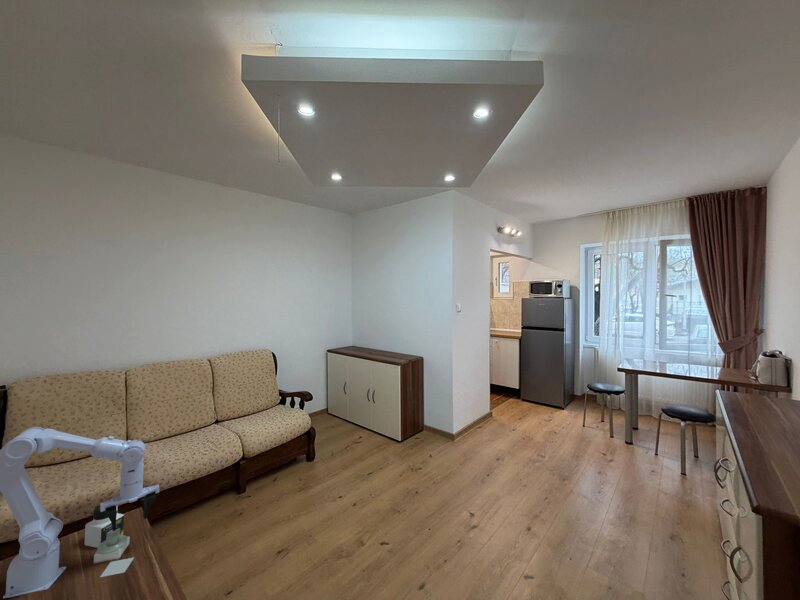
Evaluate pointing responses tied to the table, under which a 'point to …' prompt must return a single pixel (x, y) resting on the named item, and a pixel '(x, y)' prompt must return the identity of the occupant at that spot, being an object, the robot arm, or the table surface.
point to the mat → (117, 567)
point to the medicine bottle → (101, 527)
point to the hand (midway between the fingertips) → (130, 523)
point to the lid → (112, 542)
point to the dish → (110, 554)
